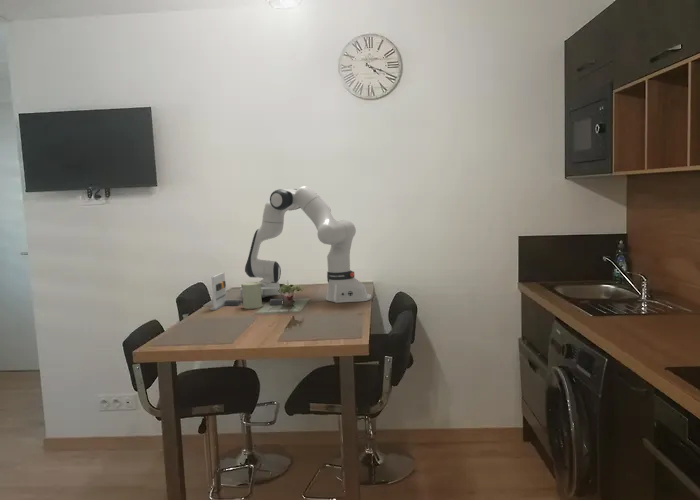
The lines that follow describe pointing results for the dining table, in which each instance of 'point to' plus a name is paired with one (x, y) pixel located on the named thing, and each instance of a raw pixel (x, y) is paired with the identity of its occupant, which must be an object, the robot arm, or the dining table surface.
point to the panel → (218, 291)
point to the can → (251, 295)
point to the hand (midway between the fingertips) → (255, 293)
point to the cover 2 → (276, 301)
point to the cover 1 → (232, 302)
